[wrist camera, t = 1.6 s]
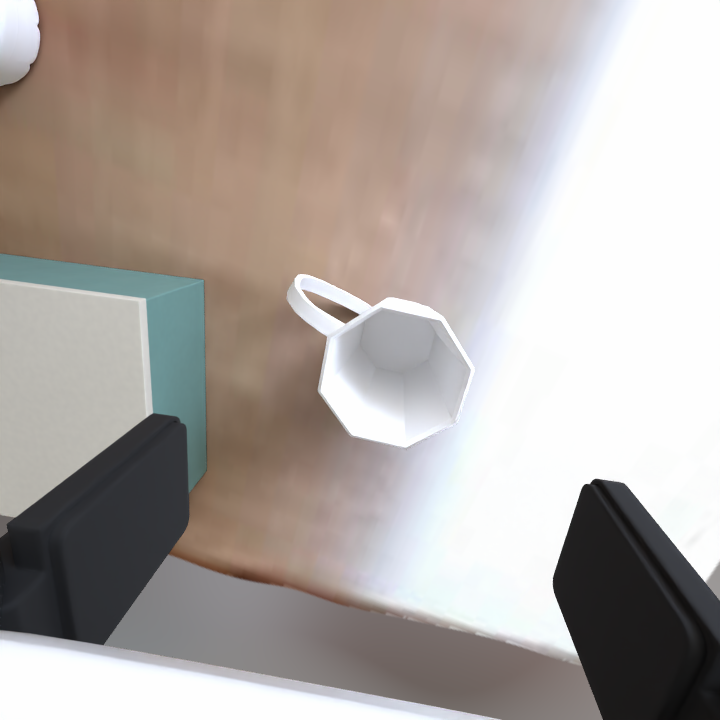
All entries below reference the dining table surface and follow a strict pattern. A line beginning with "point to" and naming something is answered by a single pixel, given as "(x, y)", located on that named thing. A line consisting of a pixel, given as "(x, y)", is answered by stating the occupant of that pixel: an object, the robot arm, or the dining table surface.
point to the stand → (92, 367)
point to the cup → (387, 366)
